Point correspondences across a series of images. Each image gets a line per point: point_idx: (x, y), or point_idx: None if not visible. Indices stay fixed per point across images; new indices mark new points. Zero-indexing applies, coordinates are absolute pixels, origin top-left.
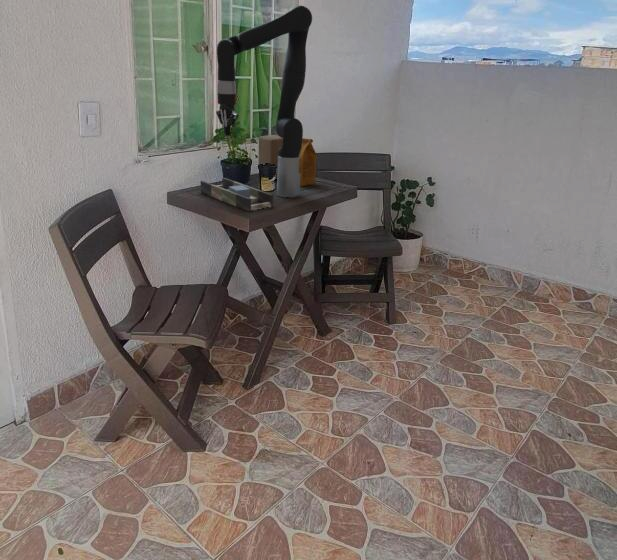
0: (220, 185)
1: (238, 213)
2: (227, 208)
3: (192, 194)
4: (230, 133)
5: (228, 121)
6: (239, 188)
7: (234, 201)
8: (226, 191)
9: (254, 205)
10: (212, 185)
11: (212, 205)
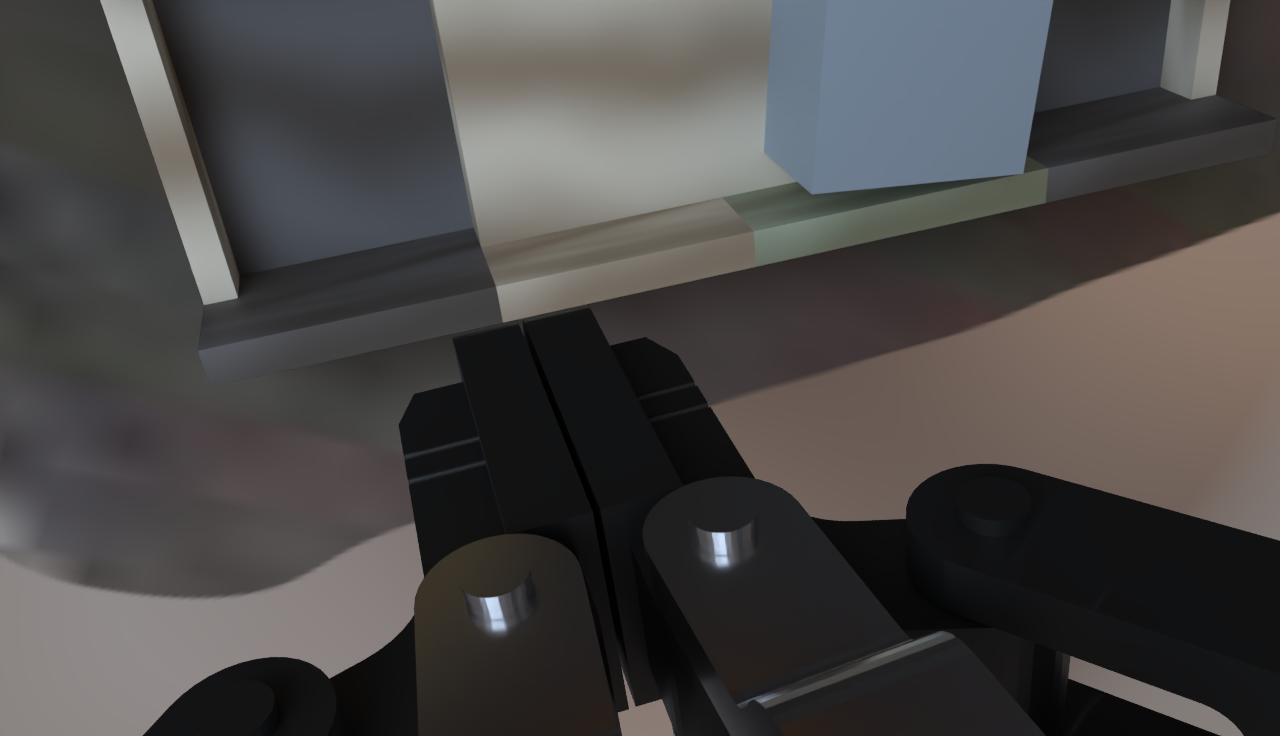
0: (140, 16)
1: (1159, 227)
2: (974, 261)
3: (293, 426)
4: (671, 355)
5: (613, 724)
6: (960, 99)
7: None
8: (854, 241)
9: (1223, 44)
10: (532, 314)
11: (810, 359)
